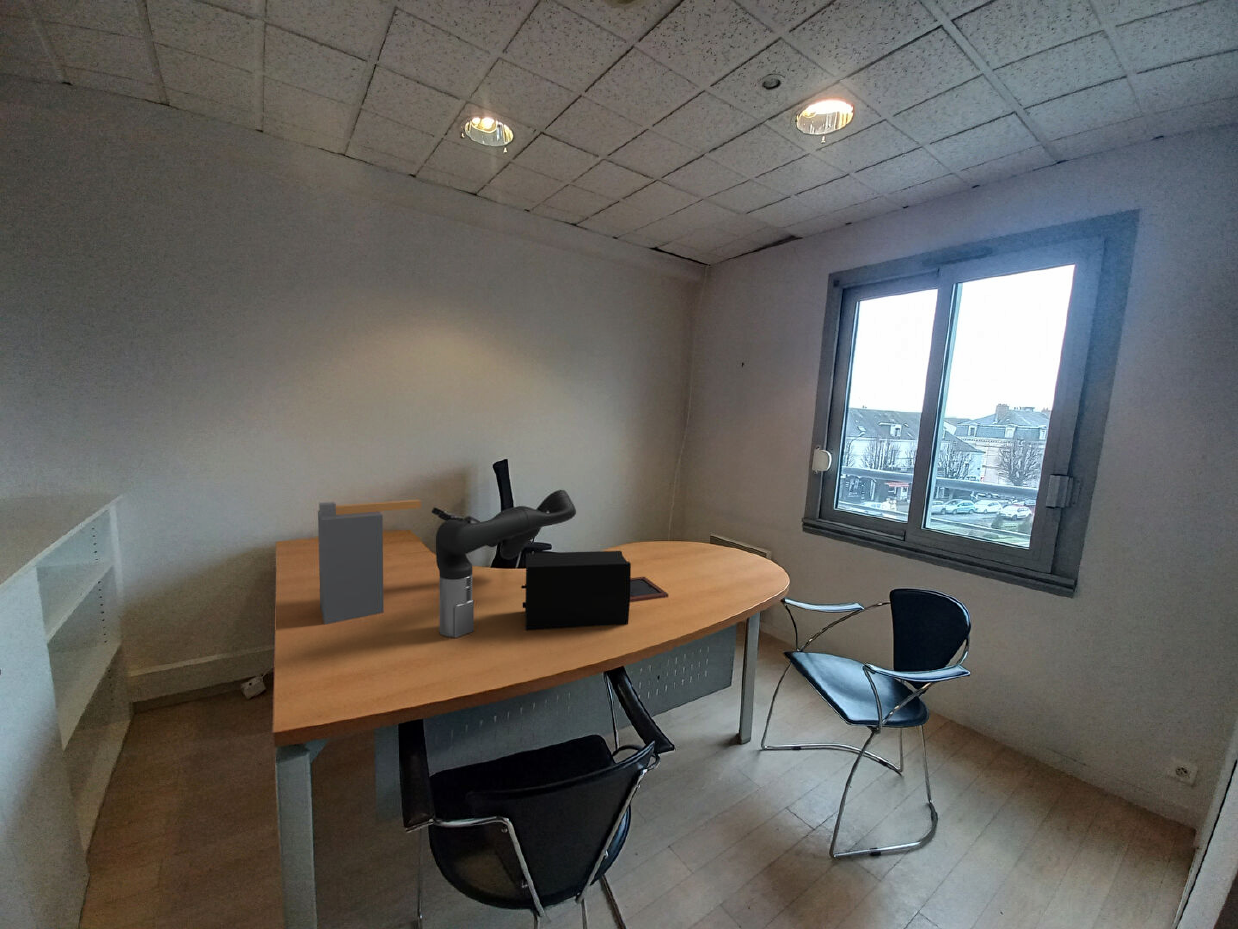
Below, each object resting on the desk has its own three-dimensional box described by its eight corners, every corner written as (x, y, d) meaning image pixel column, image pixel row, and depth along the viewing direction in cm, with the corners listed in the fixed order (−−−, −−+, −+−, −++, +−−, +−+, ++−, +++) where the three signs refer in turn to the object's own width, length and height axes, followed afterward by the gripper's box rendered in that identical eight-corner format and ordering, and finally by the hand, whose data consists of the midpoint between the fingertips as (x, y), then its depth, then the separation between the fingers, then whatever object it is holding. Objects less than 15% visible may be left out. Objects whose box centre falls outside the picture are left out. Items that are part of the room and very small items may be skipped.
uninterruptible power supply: (629, 626, 142) (631, 564, 141) (520, 633, 135) (521, 568, 133) (617, 605, 158) (620, 549, 157) (520, 610, 151) (521, 552, 149)
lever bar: (418, 506, 158) (418, 496, 157) (421, 508, 155) (421, 498, 154) (319, 514, 140) (319, 502, 140) (320, 516, 137) (320, 505, 137)
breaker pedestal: (375, 595, 158) (374, 506, 155) (384, 612, 145) (383, 514, 142) (320, 606, 148) (317, 510, 145) (324, 624, 135) (322, 520, 132)
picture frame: (606, 607, 158) (668, 598, 168) (606, 601, 157) (668, 593, 167) (587, 587, 176) (644, 580, 186) (587, 582, 176) (644, 575, 186)
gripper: (476, 543, 163) (436, 525, 154) (463, 534, 174) (425, 517, 165) (486, 524, 165) (447, 506, 155) (473, 517, 176) (435, 499, 167)
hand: (436, 511), depth 160 cm, fingers open, 8 cm apart
